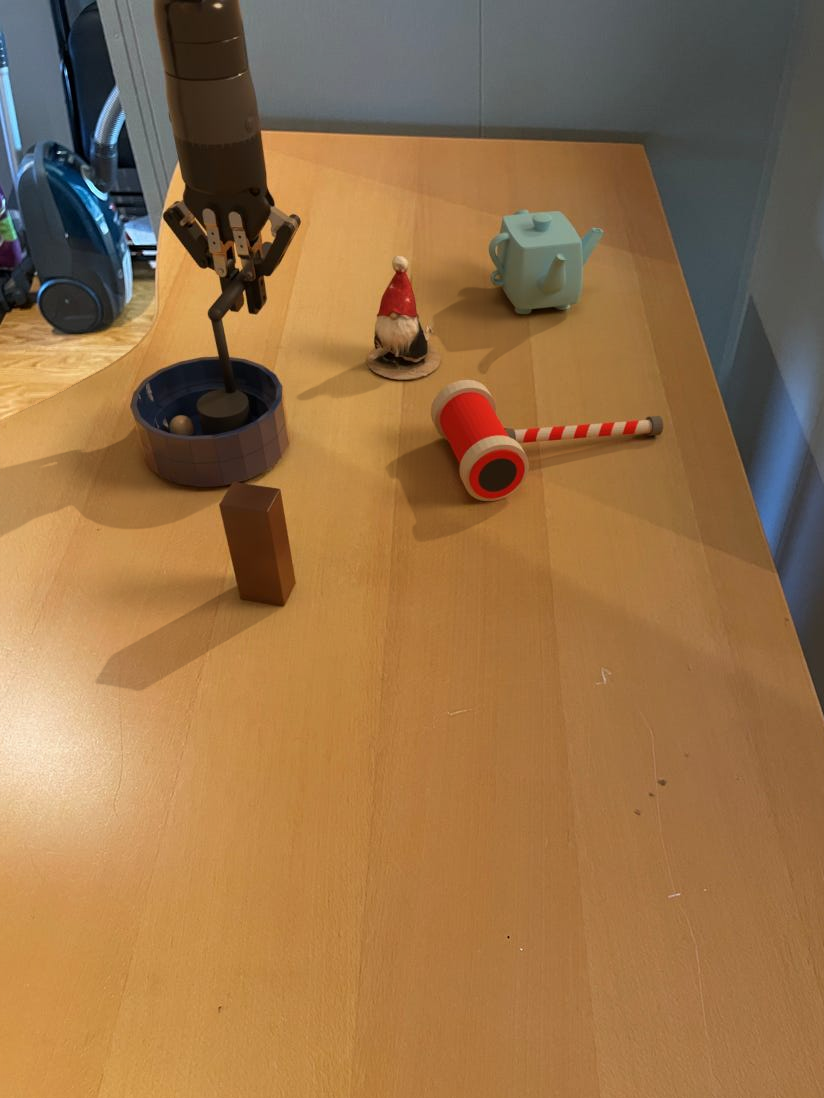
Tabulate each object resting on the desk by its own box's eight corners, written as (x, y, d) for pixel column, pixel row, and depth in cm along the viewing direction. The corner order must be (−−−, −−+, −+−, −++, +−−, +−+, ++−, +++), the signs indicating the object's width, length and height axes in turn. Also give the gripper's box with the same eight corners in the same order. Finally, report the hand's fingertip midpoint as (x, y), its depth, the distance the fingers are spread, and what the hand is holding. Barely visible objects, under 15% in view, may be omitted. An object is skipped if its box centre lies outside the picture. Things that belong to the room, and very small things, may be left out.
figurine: (394, 369, 100) (355, 261, 101) (374, 404, 110) (339, 305, 110) (465, 352, 103) (427, 247, 103) (440, 387, 113) (405, 290, 113)
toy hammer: (634, 402, 104) (642, 349, 99) (683, 466, 96) (694, 411, 92) (430, 438, 99) (429, 383, 94) (464, 508, 91) (465, 452, 87)
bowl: (120, 480, 93) (104, 427, 89) (180, 399, 103) (168, 348, 98) (260, 501, 91) (251, 448, 87) (308, 417, 101) (302, 366, 97)
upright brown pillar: (239, 599, 82) (218, 504, 75) (252, 575, 84) (232, 481, 77) (284, 606, 82) (267, 512, 74) (296, 582, 84) (280, 488, 76)
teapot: (470, 270, 124) (471, 189, 117) (574, 259, 126) (581, 180, 119) (507, 341, 112) (511, 257, 105) (621, 328, 115) (633, 245, 107)
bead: (168, 443, 96) (162, 422, 95) (178, 429, 98) (173, 409, 96) (190, 446, 96) (186, 425, 94) (200, 432, 98) (195, 412, 96)
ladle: (241, 444, 95) (219, 335, 86) (193, 437, 96) (167, 329, 87) (306, 344, 108) (292, 241, 99) (263, 339, 109) (246, 236, 100)
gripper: (304, 117, 86) (323, 300, 99) (161, 102, 88) (197, 284, 101) (275, 148, 81) (299, 336, 94) (124, 132, 83) (167, 319, 96)
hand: (246, 308), depth 97 cm, fingers closed on ladle, 1 cm apart
